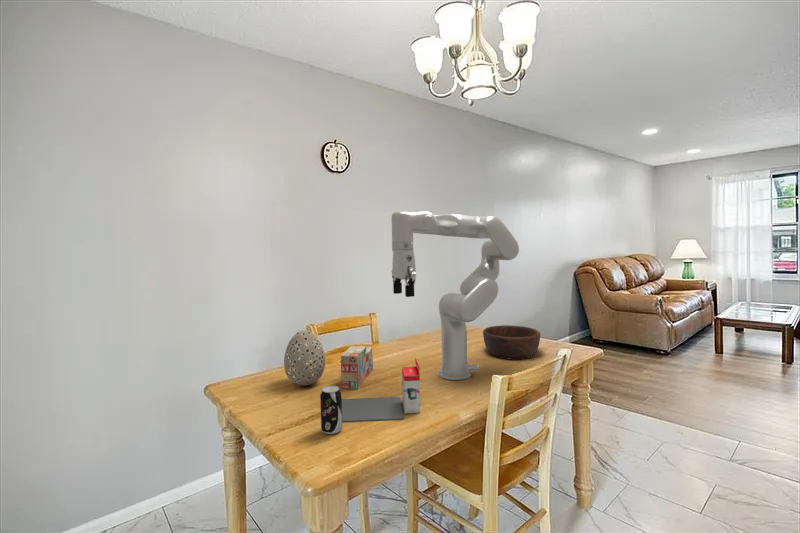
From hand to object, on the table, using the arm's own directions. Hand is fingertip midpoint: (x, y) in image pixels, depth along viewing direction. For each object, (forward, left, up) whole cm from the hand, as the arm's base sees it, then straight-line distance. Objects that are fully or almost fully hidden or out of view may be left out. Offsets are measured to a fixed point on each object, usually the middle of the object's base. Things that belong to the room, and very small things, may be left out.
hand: (403, 295), depth 141 cm
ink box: (0, +20, -33) cm, 38 cm away
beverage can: (+23, +33, -33) cm, 52 cm away
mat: (+13, +20, -33) cm, 40 cm away
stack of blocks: (+17, -8, -33) cm, 38 cm away
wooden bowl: (-50, -34, -33) cm, 69 cm away
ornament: (+37, -4, -33) cm, 49 cm away
